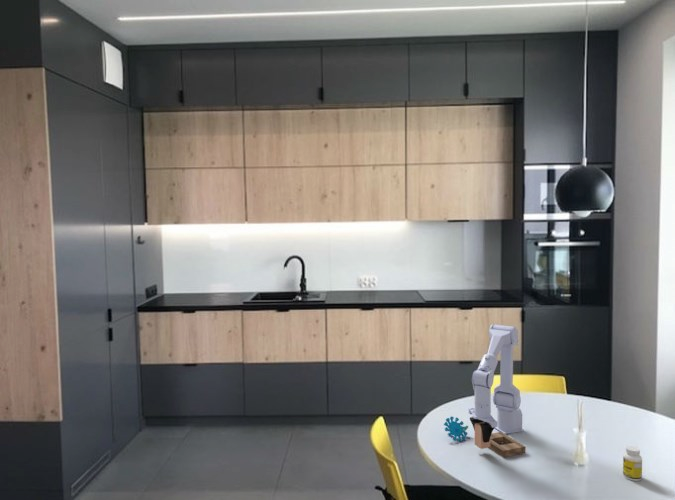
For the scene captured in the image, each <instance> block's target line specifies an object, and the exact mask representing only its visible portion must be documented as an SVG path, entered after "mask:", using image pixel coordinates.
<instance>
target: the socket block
mask: <svg viewBox="0 0 675 500" xmlns="http://www.w3.org/2000/svg"><path fill="white" fill-rule="evenodd" d="M500 444H501V445H500ZM526 448H527V447H526V445H524V444H522V443H521V442H520V441H517V440H516V439H514V438H512V437H510V436H509V435H507V434H504V433H502V432H500V431H498V432H492V434H491V437H490V447H489V448H488V449H489V450H491V451H492V452H494V453H495V454H497V455H498V456H500V457H501V458H502V459H503V458H504V459H505V458H508V457H512V456H513V457H514V456H517V455H522V454H526V453H527V450H526Z"/></svg>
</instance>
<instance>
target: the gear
mask: <svg viewBox="0 0 675 500" xmlns="http://www.w3.org/2000/svg"><path fill="white" fill-rule="evenodd" d="M458 421H460V419H459V418H458V417H455V419H454V416H452V415H451V416H450V417H447V418H446V419H445V422H444V423H443V426H445V427H444V431H445V432H448V433H447V436H448V437H449V438H450V437H452V436H453V437H452V440H453V441H454V442H456V441H457V442H462V441H465V440H466V439H467V435H468V432H467V429H469V425H465V426H464V421H462V420H461V421H460V422H458Z"/></svg>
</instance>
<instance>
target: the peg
mask: <svg viewBox="0 0 675 500" xmlns="http://www.w3.org/2000/svg"><path fill="white" fill-rule="evenodd" d="M481 423H485V422H480V423H475V431H474V445H475V446H476V447H477V448H479V449H480V450H483V449H489V447H490V440H489V442H486V443H484V442H483V434H482V429H481V426H480V424H481Z"/></svg>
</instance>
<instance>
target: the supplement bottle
mask: <svg viewBox="0 0 675 500" xmlns="http://www.w3.org/2000/svg"><path fill="white" fill-rule="evenodd" d="M640 454H641V449H640V448H638V447H636V446H633V445H627V446H625V453H623V455H622V456H623V457H622V459H623V461H622V463H623V464H622V475H623V477H624V478H626V479H628V480H630V481H633V482H638V481H642V477H643V457H642V456H641V455H640Z"/></svg>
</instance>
